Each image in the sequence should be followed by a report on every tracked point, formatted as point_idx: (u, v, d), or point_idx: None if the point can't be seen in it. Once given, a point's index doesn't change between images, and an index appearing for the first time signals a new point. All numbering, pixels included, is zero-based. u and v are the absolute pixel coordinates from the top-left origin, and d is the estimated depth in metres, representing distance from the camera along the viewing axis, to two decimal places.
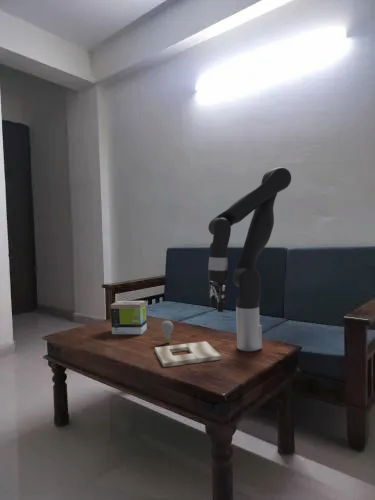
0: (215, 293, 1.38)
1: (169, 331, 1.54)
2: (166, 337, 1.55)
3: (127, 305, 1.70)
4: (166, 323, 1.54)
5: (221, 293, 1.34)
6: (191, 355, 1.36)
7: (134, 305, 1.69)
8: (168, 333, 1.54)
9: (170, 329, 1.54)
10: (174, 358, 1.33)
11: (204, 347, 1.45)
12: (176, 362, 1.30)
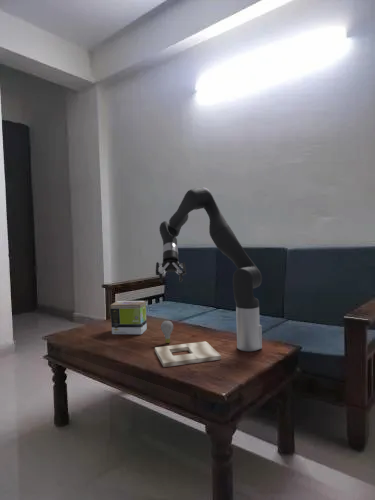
0: None
1: (169, 331, 1.54)
2: (166, 337, 1.55)
3: (127, 305, 1.70)
4: (166, 323, 1.54)
5: None
6: (191, 355, 1.36)
7: (134, 305, 1.69)
8: (168, 333, 1.54)
9: (170, 329, 1.54)
10: (174, 358, 1.33)
11: (204, 347, 1.45)
12: (176, 362, 1.30)
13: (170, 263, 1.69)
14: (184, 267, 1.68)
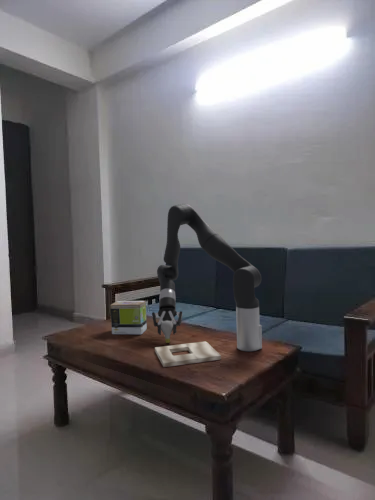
0: None
1: (169, 331, 1.54)
2: (166, 337, 1.55)
3: (127, 305, 1.70)
4: (166, 323, 1.54)
5: None
6: (191, 355, 1.36)
7: (134, 305, 1.69)
8: (168, 333, 1.54)
9: (170, 329, 1.54)
10: (174, 358, 1.33)
11: (204, 347, 1.45)
12: (176, 362, 1.30)
13: (166, 311, 1.60)
14: (179, 317, 1.58)
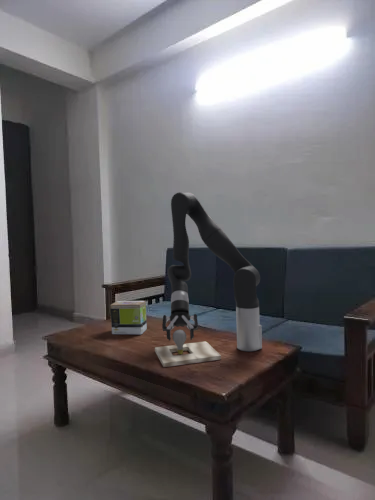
0: (173, 326, 1.45)
1: (182, 341, 1.39)
2: (179, 348, 1.40)
3: (127, 305, 1.70)
4: (178, 333, 1.39)
5: None
6: (191, 355, 1.36)
7: (134, 305, 1.69)
8: (181, 344, 1.39)
9: (183, 339, 1.39)
10: (174, 358, 1.33)
11: (204, 347, 1.45)
12: (176, 362, 1.30)
13: (179, 316, 1.45)
14: (196, 321, 1.43)
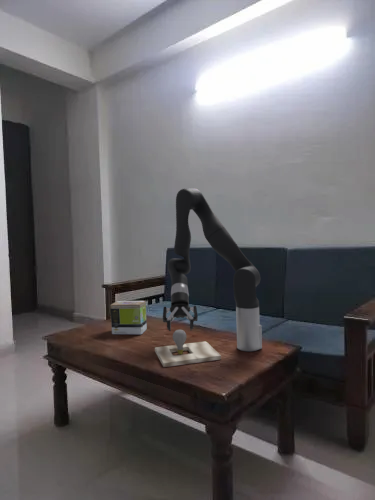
0: None
1: (182, 341, 1.39)
2: (179, 348, 1.40)
3: (127, 305, 1.70)
4: (179, 333, 1.39)
5: None
6: (191, 355, 1.36)
7: (134, 305, 1.69)
8: (181, 344, 1.39)
9: (183, 339, 1.39)
10: (174, 358, 1.33)
11: (204, 347, 1.45)
12: (176, 362, 1.30)
13: (179, 307, 1.48)
14: (195, 312, 1.47)
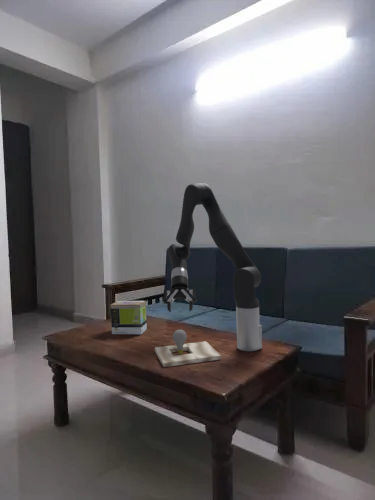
0: None
1: (182, 341, 1.39)
2: (179, 348, 1.40)
3: (127, 305, 1.70)
4: (179, 333, 1.39)
5: None
6: (191, 355, 1.36)
7: (134, 305, 1.69)
8: (181, 344, 1.39)
9: (183, 339, 1.39)
10: (174, 358, 1.33)
11: (204, 347, 1.45)
12: (176, 362, 1.30)
13: (179, 290, 1.56)
14: (194, 294, 1.54)
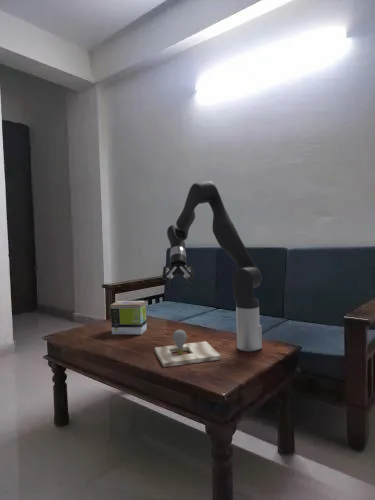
0: None
1: (182, 341, 1.39)
2: (179, 348, 1.40)
3: (127, 305, 1.70)
4: (179, 333, 1.39)
5: None
6: (191, 355, 1.36)
7: (134, 305, 1.69)
8: (181, 344, 1.39)
9: (183, 339, 1.39)
10: (174, 358, 1.33)
11: (204, 347, 1.45)
12: (176, 362, 1.30)
13: (177, 267, 1.64)
14: (192, 271, 1.62)
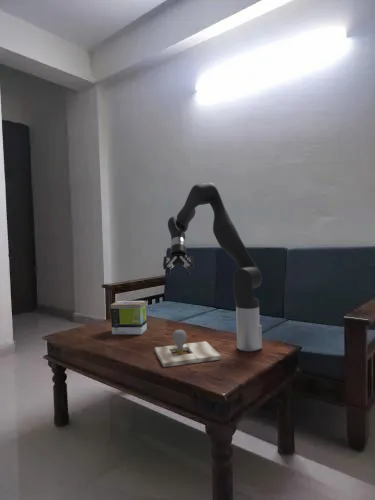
0: None
1: (182, 341, 1.39)
2: (179, 348, 1.40)
3: (127, 305, 1.70)
4: (179, 333, 1.39)
5: None
6: (191, 355, 1.36)
7: (134, 305, 1.69)
8: (181, 344, 1.39)
9: (183, 339, 1.39)
10: (174, 358, 1.33)
11: (204, 347, 1.45)
12: (176, 362, 1.30)
13: (178, 257, 1.68)
14: (192, 260, 1.66)
